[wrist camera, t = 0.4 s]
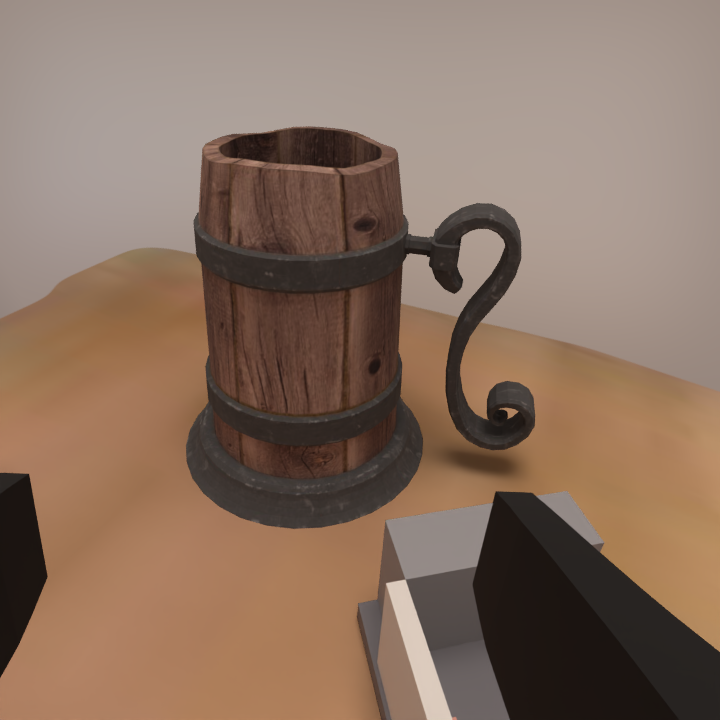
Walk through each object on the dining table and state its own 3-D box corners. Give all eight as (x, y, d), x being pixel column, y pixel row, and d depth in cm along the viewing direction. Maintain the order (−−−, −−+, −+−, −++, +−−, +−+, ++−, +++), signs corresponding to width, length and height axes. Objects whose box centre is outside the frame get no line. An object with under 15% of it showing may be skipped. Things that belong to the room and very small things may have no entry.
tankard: (136, 499, 34) (46, 167, 22) (241, 355, 47) (218, 107, 36) (522, 578, 30) (642, 231, 19) (514, 398, 44) (580, 137, 33)
